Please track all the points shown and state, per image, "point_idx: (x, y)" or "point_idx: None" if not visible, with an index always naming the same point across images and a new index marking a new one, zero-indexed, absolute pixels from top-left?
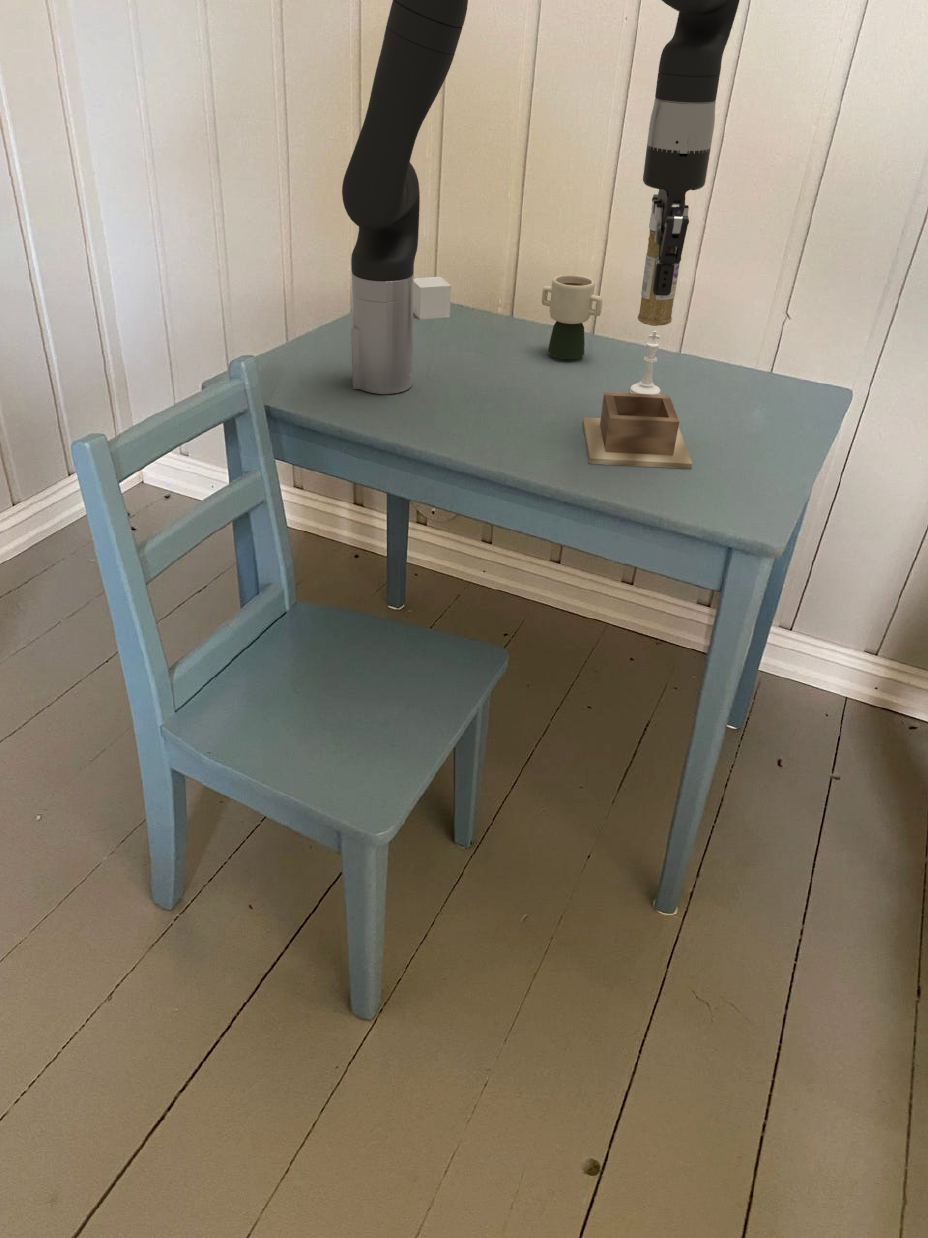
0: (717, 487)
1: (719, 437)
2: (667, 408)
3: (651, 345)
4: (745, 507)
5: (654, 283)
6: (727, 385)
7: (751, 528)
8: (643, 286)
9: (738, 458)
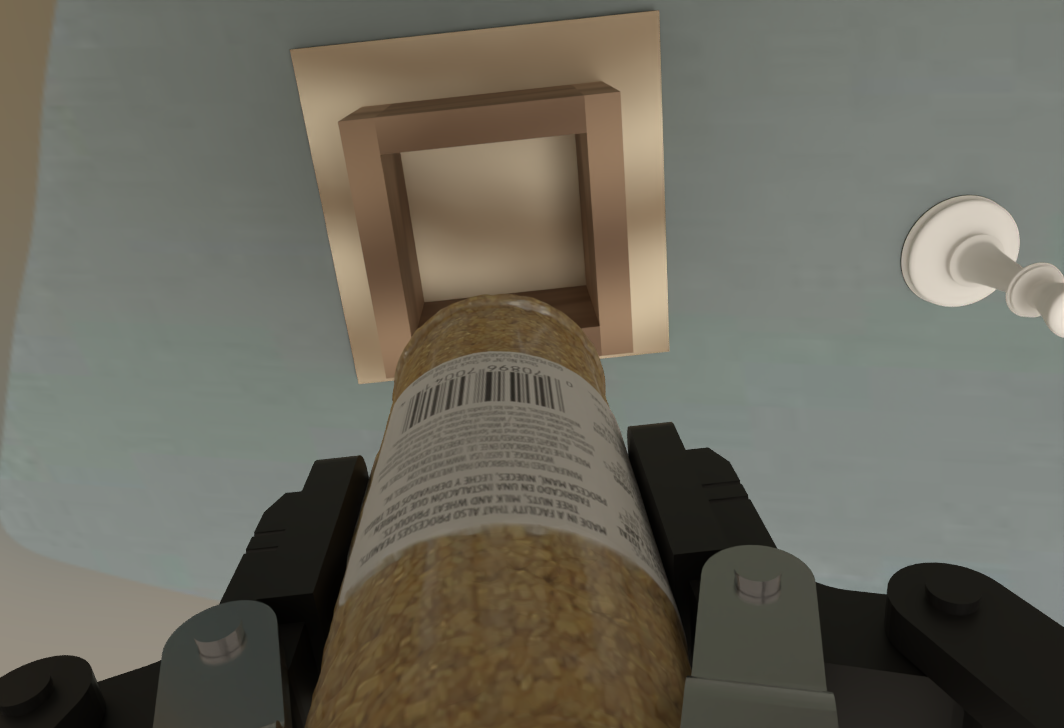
0: (265, 438)
1: None
2: None
3: (1055, 305)
4: (170, 496)
5: (304, 495)
6: (1023, 509)
7: (57, 501)
8: (449, 389)
9: None
